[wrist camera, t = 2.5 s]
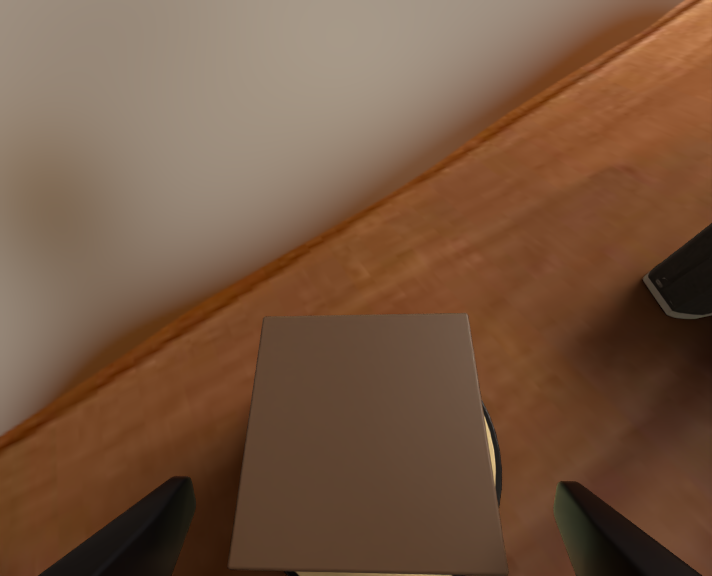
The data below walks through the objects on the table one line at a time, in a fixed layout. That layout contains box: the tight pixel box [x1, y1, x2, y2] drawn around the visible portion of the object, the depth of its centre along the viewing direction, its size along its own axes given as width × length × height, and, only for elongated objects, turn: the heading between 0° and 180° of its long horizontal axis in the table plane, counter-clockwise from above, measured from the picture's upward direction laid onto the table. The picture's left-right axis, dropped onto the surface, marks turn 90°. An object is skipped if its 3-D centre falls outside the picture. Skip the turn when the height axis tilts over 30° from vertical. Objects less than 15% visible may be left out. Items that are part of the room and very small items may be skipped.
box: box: [227, 313, 509, 576], centre depth 13 cm, size 11×11×8 cm
